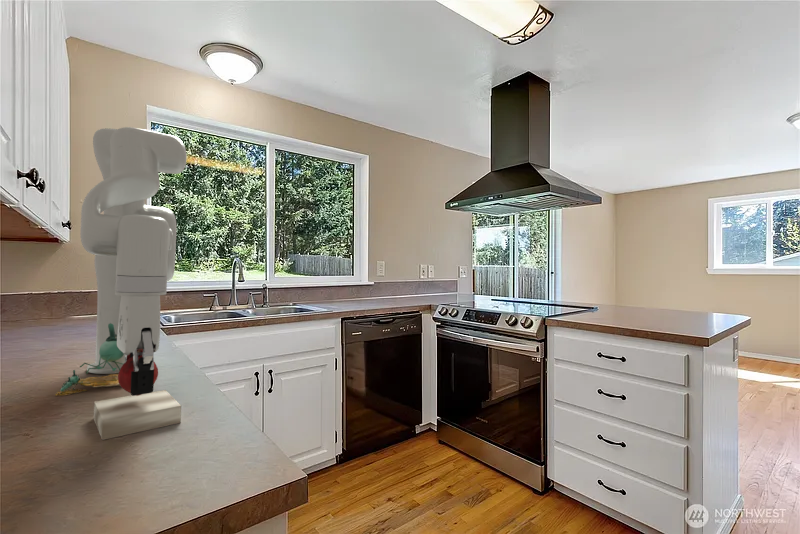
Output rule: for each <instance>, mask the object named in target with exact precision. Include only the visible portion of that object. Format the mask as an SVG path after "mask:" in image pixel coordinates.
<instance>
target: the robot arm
mask: <svg viewBox="0 0 800 534" xmlns="http://www.w3.org/2000/svg"><path fill="white" fill-rule="evenodd" d="M92 144H93V145H92V147H93V153H94V158H95V160H96V163H97V165H98V168H99V170H100V172H101V175H102V179H103V180H101V181H100V182H98V183H97V184H96V185H94V186H93V187H92V188H91V189H90V191H88V193H87V194H86V196H85V197H84V200H83V202H82V205H81V212H80V215H81V216H80V217H81V218H80V242H81V246H82V247H83V249H84V250H85V251H86V252H88V254H91V255H94V271H95V275H96V276H95V277H96V285H97V289H96V290H97V300H96V301H97V302H96V303H97V305H96V308H97V309H96V311H97V312H96V330H95V331H96V336H95V337H96V338H95V361H94V362H93V363H89V364H90V365H93V366H98V365H99V360H100V354H99V350H100V347H101V345H102V344H103V343H104V342H105V341H106V339H107V338H108V337H109V336H110V333H109V328H108V324H110V323H111V324H113V325H114V331H115V334H116V335H117V337H116V338H117V347H118V348H119V349H120V350H121V351H122V352H123V353H124V355H123V357H122V358H120V359H119V360H116V362H119V363H123V364H124V363H125V362H126V361H127V360H128V359H129V358H131V357H133V368H134V371H131V393H130V396H131V395H132V396H135V395H141V394H147V393H152V392H154V384H155V383H154V362H155V360H154V359H155V358H154V353H155V352H157V351H159V349H160V348H159V347H160V340H161V339H160V338H161V307H162V305H161V296H166V295H167V291H168V289H167V288H168V285H167V284H168V282H170V281H171V280H172V278H173V277H174V275H175V269H176V268H175V267H176V250H177V249H176V247H177V219H176V218H177V217H176V215H175V213H174V212H173V210H171V209H169V208H167V207H162V206H154V205H147V204H146V201H145V200H148V199H150V198H152V197H154V196H155V195H156V194H157V193H158V191H159V190H160V184H161V183H160V175H159V173H162V174H169V175H170V174H172V175H178V174H181V173H182V172H183V171H184V170H185V167H186V165H187V161H188V159H187V157H188V156H187V149H186V146H185V144H184V143H183V141H182V140H181V138H179V137H177V136H175V135H171V134H166V133H162V132H157V131H153V130H149V129H144V128H138V127H133V126H132V127H131V126H129V127H128V126H125V127H119V128H118V129H117V128H100V129H97V130H96V131H95V132H94V134H93V137H92ZM102 212H103V213H102ZM138 350H143V352H137V351H138ZM140 356H142V357H140ZM138 357H140V359H139V361H138ZM104 361H105V360H103V359H102V358H101V360H100V364H101V363H103V362H104ZM138 362H139V363H138ZM119 363H117V365H118V366H119V368H120V369H121V367H122V366H123V364H119ZM104 364H105V362H104V363H103V364H101V365H100V366H98V367H103V366H104ZM109 364H110V365H111V366H112V367H113V368H117V369H116V370H115V371H112V368H111V366H110V365H109ZM109 364H108V363H106V365H105V367H104V368H102V369H90V370H89V371H88V369H89V368H96V367H93V366H90V365H87V366H86V372H87V371H88V373H90V374H96V375H110V374H119V368H118V367H117V365H116V364H115V362H109Z"/></svg>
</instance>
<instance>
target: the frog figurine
mask: <svg viewBox="0 0 800 534" xmlns="http://www.w3.org/2000/svg"><path fill="white" fill-rule="evenodd" d="M108 328H109V333H110V336H109V337H108V338H107V339H106V341H105V342H104V343H103V344H102V345H101V347H100V350H99V354H100V360H101V358H102V359H103V360H105V361H104V362H105V364H104V366H103V367H98V366H100V365H101V364H103V363H104V362H103V363H101V364H100V360H99V365H98V366H93V365H90V364H91V363H86V362H84V363H82V364H81V365H80V366H79V368H82V367H83V366H84V365H87V366H88V365H90V366H93V367H96V368H89V369H88V371H89V370H90V369H102V368H104V367H105V365H106V363H108V364H109V362H115V364H116V365H117V363H119V362H116V360H119V359H120V358H122V357H123V355H124V353H123V352H122V351H121V350H120V349H119V348H118V347H117V338H116V337H117V335H116V334H115V331H114V325H113V324H111V323H110V324H108ZM119 364H123V363H119ZM109 365H110V364H109ZM110 366H111V365H110ZM117 367H118V368H119V366H118V365H117ZM111 368H112V371H115V370H116V369H117V368H113V367H112V366H111ZM88 371H87V370H86V372H85V374H86V375H87V374H88V373H89V372H88ZM119 371H120V368H119ZM72 372H73V374H72V375H71V377H70V376H68V378H67V379H68V380H65V382H64V383H63V384H62V385H61V388H60V389H59V390H60V391H56V393H55V394H54V396H68V395H73V394H79V393H82V392H86V391H88V390H87V389H83V388H81V389H80V388H75V387H74V386H77V385H80V386H84V387H92V388H101V387H115V386H120V384H119V382H118V374H119V373H114V374H108V375H106V376H105V375H103V376H90V377H89V376H88V377H85V378H80V375H79V374H78V375H77V373H76V369H73V371H72Z"/></svg>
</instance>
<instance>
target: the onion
mask: <svg viewBox="0 0 800 534" xmlns="http://www.w3.org/2000/svg"><path fill="white" fill-rule="evenodd" d="M137 352H143V350H138V351H137ZM140 357H142V356H140ZM140 357H138V361H139V359H140ZM138 363H139V362H138ZM131 371H134V368H133V357H131V358H129V359H128V360H127V361H126V362H125V363H124V364H123V366H122V367H121V369H120V371H119V373H117V374H118V382H119V384H120V385H119V386H120V387H121V388H122V389H123V390H124V391H125V392H127V393H129V394H131ZM158 376H159V368H158V366H157V364H156V362H155V361H154V384H155V383H156V382H157V379H158ZM135 396H139V395H135Z"/></svg>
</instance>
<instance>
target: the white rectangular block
mask: <svg viewBox="0 0 800 534" xmlns="http://www.w3.org/2000/svg"><path fill="white" fill-rule="evenodd" d="M93 420H94V421H93V422H94V424H95V425H96V429H97V431H98V434H99V436H100V438H101V440H102V441H103V440H109V439H113V438H117V437H122V436H127V435H130V434H136V433H140V432H144V431H149V430H154V429H158V428H159V429H160V428H164V427H168V426H172V425H176V424H181V421H182V405H181V404H180V403H179V402H178V401H177V400H176V399H175V398H174V397H173V396H172V395H171V394H170V393H169V392H168V391H167V390H166V389H163V390H157V391H153V392H152V393H147V394H141V395H139V396H132V395H131V394H130V395H127V396H120V397H114V398H108V399H107V398H106V399H102V400H95V401H94V402H93Z"/></svg>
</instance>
